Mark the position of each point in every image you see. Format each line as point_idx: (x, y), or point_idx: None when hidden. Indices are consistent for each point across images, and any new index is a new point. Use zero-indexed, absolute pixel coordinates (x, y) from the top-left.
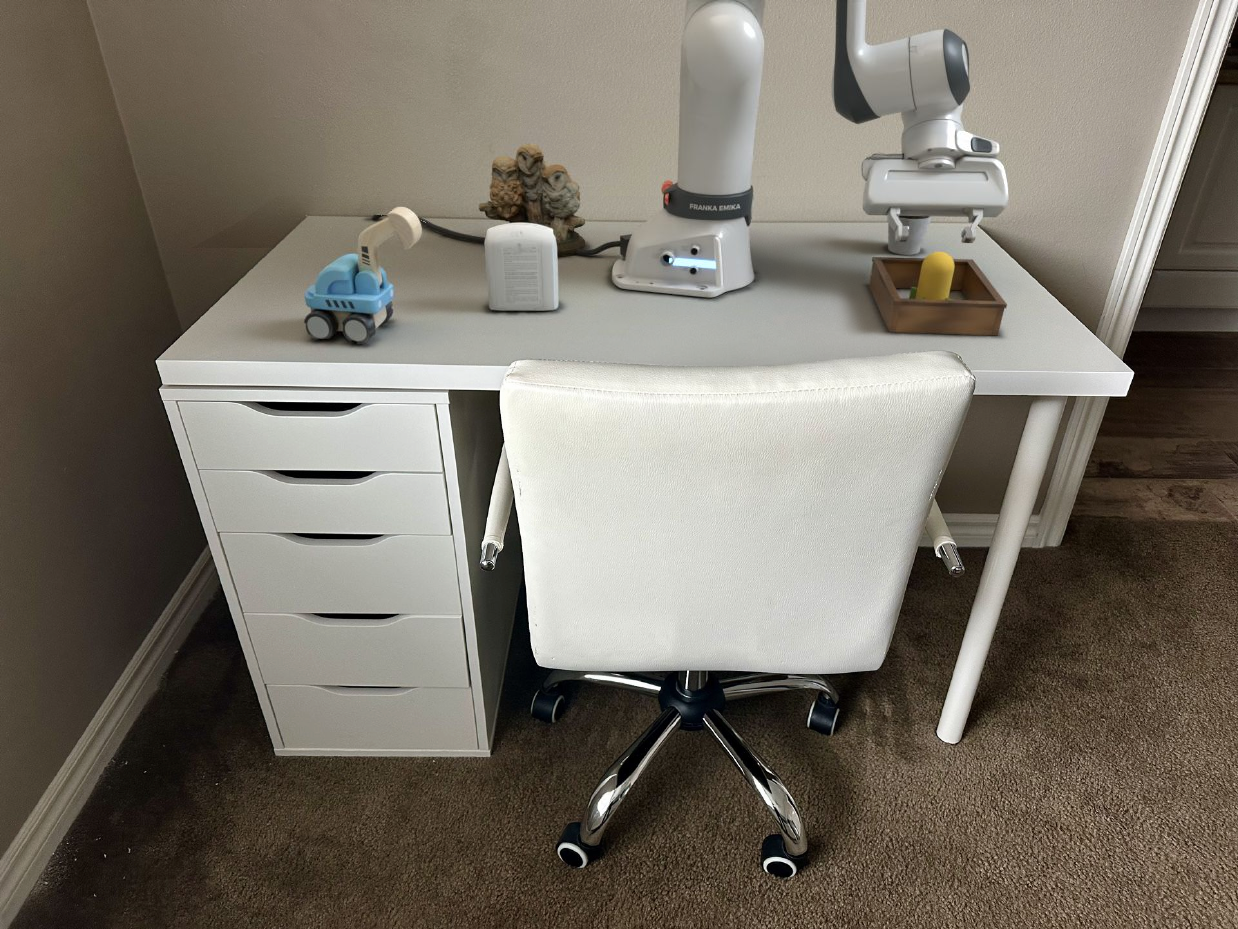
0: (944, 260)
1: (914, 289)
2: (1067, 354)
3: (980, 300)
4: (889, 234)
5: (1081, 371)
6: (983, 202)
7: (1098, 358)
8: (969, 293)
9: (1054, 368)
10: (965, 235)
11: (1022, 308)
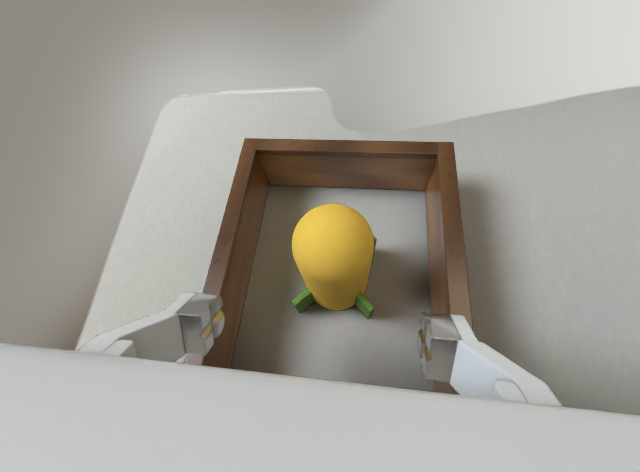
0: (328, 205)
1: (367, 300)
2: (199, 130)
3: (245, 247)
4: None
5: (211, 94)
6: (38, 356)
7: (168, 123)
8: (233, 328)
9: (238, 98)
10: (216, 296)
11: (156, 285)
